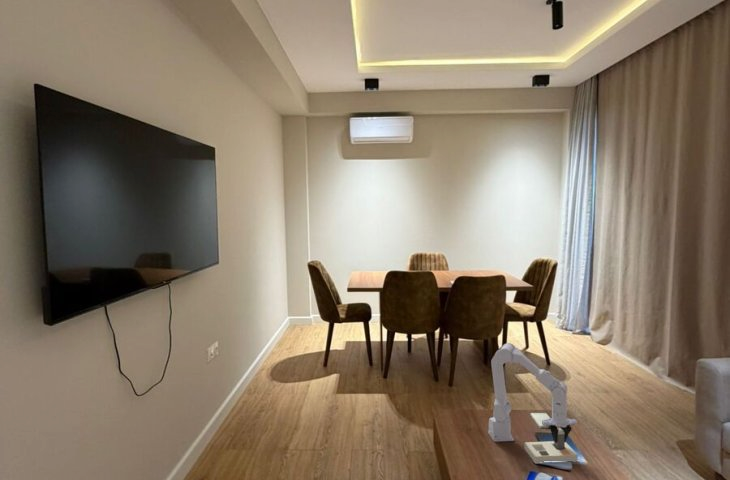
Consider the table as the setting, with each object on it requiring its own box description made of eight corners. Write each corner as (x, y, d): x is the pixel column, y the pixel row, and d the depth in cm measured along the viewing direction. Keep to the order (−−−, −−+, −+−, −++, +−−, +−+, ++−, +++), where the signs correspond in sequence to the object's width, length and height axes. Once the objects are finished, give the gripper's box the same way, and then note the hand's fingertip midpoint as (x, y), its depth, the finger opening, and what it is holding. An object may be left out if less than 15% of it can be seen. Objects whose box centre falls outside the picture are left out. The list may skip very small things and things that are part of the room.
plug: (557, 450, 162) (557, 432, 161) (553, 446, 165) (553, 428, 164) (564, 449, 162) (564, 432, 161) (560, 445, 165) (560, 428, 164)
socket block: (535, 463, 157) (535, 455, 157) (524, 448, 167) (524, 441, 167) (577, 461, 157) (577, 454, 157) (564, 447, 167) (564, 440, 167)
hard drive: (557, 426, 183) (546, 412, 195) (540, 425, 183) (530, 412, 196) (557, 429, 183) (546, 415, 195) (540, 429, 183) (530, 415, 196)
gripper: (547, 416, 158) (547, 447, 159) (581, 414, 159) (581, 446, 159) (539, 408, 165) (539, 437, 166) (571, 406, 166) (571, 436, 166)
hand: (559, 441), depth 163 cm, fingers closed on plug, 3 cm apart
